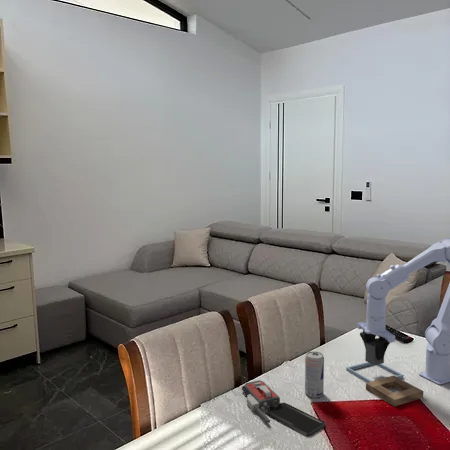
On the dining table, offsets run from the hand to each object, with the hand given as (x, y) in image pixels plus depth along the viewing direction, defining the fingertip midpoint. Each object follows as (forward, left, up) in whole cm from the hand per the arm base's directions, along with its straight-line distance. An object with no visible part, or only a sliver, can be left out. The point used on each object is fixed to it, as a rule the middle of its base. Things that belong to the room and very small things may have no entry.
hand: (374, 356), depth 145 cm
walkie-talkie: (+42, +1, -7) cm, 42 cm away
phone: (+38, +11, -7) cm, 40 cm away
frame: (0, 0, -6) cm, 6 cm away
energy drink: (+25, +2, -6) cm, 26 cm away
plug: (0, 0, -2) cm, 2 cm away
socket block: (+4, +12, -6) cm, 14 cm away
